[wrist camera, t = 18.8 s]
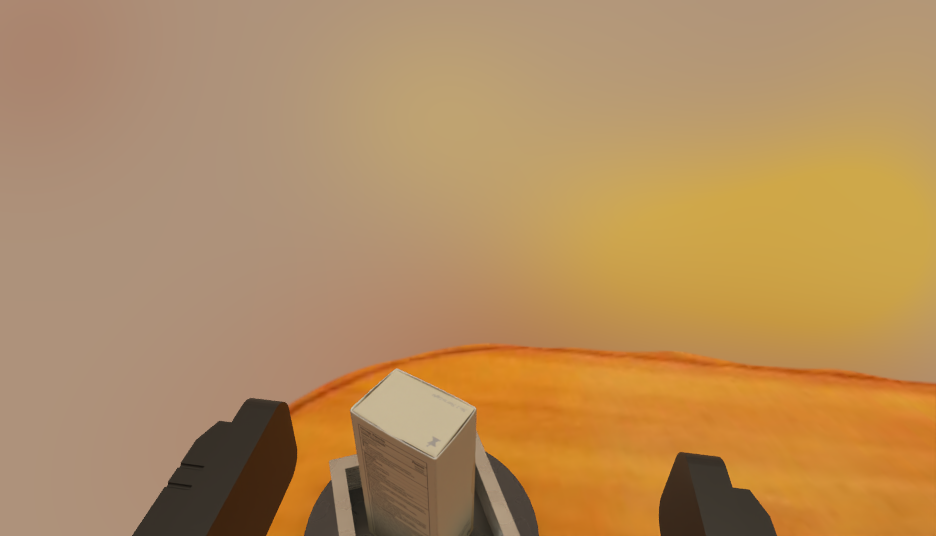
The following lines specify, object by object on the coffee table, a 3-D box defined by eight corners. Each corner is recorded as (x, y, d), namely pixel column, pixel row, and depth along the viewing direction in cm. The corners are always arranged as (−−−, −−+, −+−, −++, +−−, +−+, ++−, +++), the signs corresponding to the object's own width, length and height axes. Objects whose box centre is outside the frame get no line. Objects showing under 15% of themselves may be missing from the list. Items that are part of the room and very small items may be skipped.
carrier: (491, 429, 47) (494, 396, 45) (577, 624, 35) (587, 591, 32) (298, 475, 43) (290, 441, 41) (316, 717, 30) (307, 686, 28)
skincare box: (474, 530, 38) (483, 408, 31) (437, 585, 35) (438, 462, 28) (403, 485, 41) (397, 363, 34) (362, 532, 37) (347, 408, 31)
